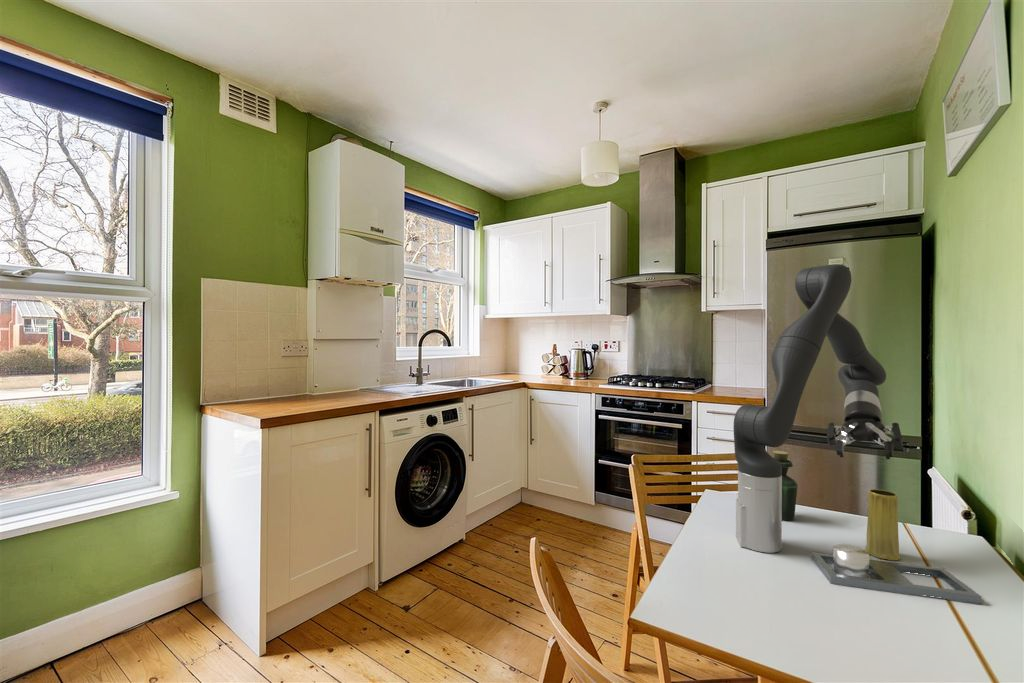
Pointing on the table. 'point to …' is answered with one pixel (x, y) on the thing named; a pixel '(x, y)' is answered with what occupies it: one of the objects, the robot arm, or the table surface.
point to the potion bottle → (787, 487)
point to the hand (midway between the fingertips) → (863, 455)
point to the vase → (883, 524)
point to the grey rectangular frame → (887, 575)
